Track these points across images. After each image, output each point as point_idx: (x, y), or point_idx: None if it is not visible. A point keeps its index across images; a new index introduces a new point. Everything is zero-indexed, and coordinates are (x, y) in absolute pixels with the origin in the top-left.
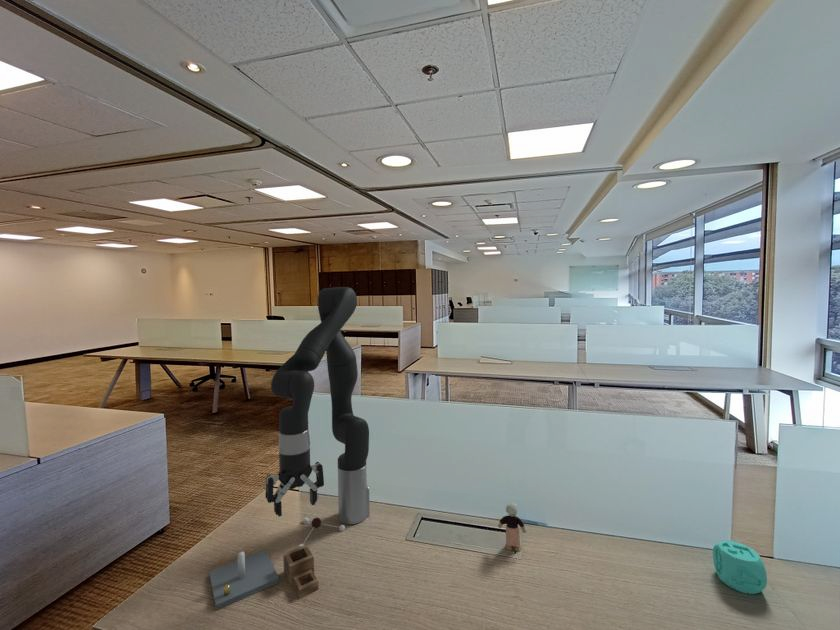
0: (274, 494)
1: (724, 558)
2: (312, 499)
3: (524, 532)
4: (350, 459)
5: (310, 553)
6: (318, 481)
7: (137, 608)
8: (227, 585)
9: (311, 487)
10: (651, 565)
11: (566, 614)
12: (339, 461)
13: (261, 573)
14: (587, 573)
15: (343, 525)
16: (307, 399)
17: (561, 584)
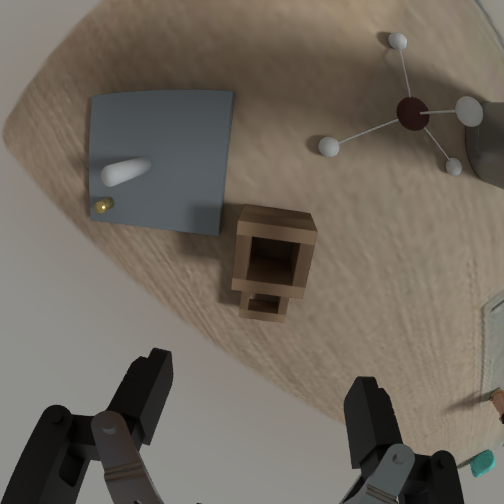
0: (95, 440)
1: (480, 470)
2: (347, 430)
3: (499, 418)
4: None
5: (303, 281)
6: (418, 488)
7: (15, 123)
8: (100, 207)
9: (348, 498)
10: (487, 439)
11: (420, 453)
12: None
13: (186, 187)
14: (471, 434)
15: (459, 171)
16: None
17: (453, 437)
